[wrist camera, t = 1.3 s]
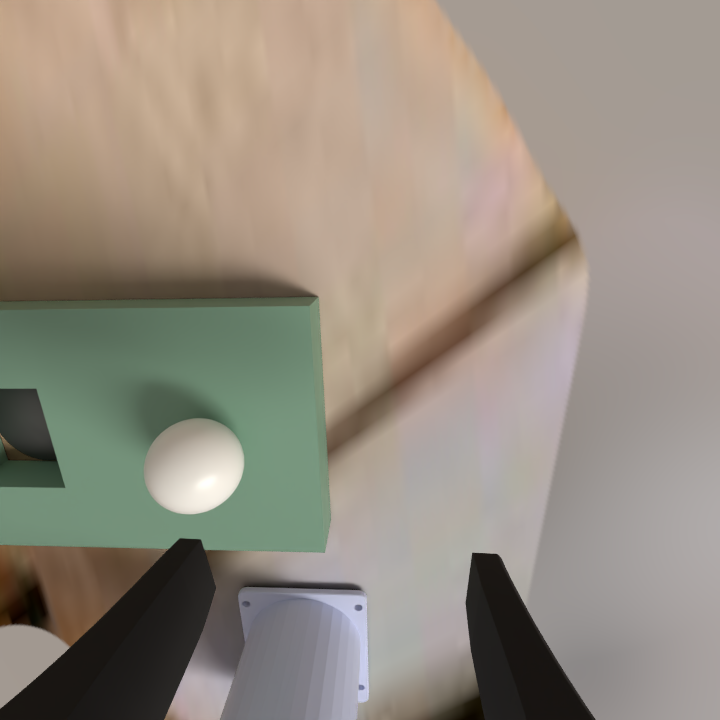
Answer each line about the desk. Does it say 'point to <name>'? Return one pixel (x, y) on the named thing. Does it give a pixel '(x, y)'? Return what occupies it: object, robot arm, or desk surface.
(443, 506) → the desk surface
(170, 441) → the ball
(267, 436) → the putting board
